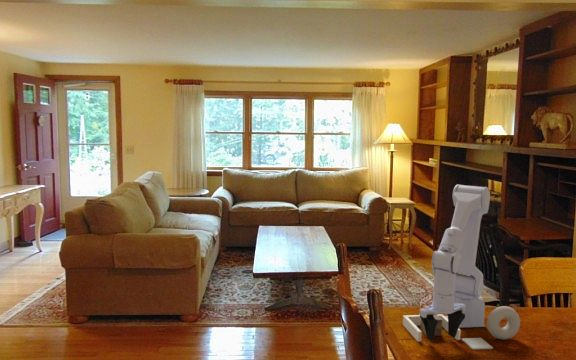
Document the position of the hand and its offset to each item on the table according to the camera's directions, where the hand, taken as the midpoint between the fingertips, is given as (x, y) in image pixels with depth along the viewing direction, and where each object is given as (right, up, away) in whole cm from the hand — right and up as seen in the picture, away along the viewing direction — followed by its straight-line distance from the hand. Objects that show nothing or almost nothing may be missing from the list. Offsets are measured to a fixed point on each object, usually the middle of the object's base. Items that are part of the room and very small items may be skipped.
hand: (441, 337), depth 130 cm
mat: (+10, -2, -1) cm, 10 cm away
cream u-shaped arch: (-1, -1, +7) cm, 7 cm away
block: (-1, -1, +7) cm, 7 cm away
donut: (+19, -2, +3) cm, 20 cm away
